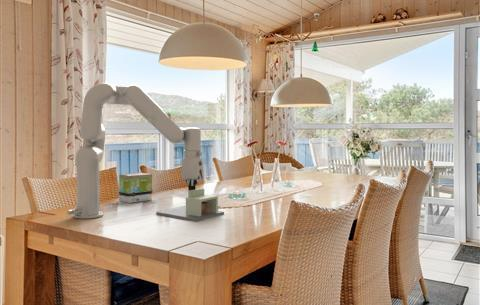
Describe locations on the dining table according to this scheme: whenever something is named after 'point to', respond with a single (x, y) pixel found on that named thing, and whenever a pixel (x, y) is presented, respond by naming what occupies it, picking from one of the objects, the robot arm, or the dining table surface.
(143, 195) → the tea box
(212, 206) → the cover
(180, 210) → the board
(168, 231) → the dining table surface
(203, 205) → the wooden crate
